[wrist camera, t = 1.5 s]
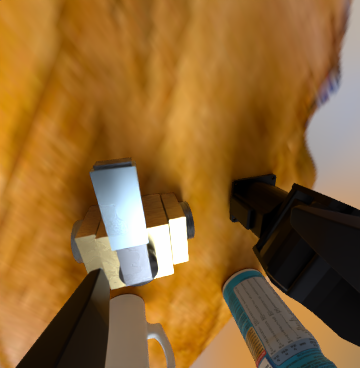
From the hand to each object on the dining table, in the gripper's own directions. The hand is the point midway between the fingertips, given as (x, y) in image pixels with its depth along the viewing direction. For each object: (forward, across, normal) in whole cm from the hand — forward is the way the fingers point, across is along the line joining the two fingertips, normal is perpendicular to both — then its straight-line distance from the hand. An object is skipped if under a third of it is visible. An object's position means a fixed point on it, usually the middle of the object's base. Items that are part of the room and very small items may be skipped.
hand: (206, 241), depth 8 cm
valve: (+13, +4, +6) cm, 15 cm away
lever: (+6, +4, +2) cm, 8 cm away
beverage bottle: (+13, -10, +26) cm, 30 cm away
